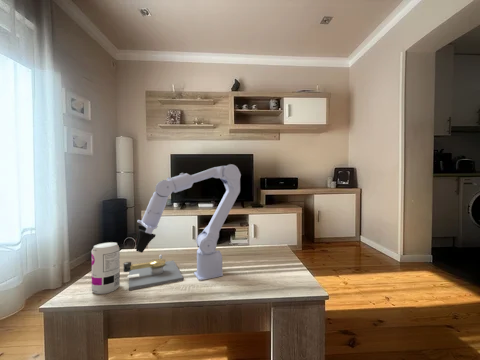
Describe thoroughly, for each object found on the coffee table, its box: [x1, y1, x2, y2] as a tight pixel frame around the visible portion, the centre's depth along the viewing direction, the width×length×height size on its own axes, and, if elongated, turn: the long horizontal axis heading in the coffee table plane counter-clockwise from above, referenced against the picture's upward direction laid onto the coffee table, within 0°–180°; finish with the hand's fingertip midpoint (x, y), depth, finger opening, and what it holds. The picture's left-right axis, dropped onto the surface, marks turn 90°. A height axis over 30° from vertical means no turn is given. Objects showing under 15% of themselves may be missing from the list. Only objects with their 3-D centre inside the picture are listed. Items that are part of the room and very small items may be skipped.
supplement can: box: [91, 241, 121, 295], centre depth 79 cm, size 8×8×15 cm
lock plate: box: [127, 254, 184, 291], centre depth 91 cm, size 18×21×5 cm
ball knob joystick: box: [123, 258, 166, 273], centre depth 89 cm, size 15×6×3 cm, turn 115°
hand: (138, 248), depth 82 cm, fingers open, 7 cm apart
